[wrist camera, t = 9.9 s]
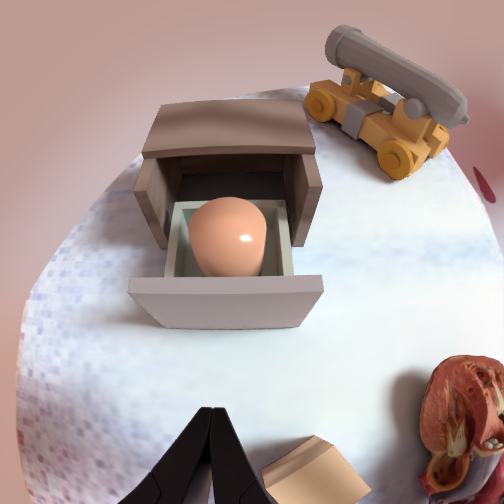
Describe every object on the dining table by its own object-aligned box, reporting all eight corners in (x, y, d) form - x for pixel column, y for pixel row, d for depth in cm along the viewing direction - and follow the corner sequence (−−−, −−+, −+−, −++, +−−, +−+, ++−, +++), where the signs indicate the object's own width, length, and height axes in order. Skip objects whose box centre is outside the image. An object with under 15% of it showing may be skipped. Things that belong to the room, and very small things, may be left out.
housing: (303, 246, 26) (325, 179, 18) (160, 248, 25) (130, 183, 17) (290, 166, 31) (300, 101, 23) (175, 168, 31) (161, 105, 23)
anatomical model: (492, 319, 16) (579, 431, 2) (495, 402, 17) (534, 495, 3) (390, 379, 19) (413, 536, 5) (415, 446, 20) (427, 551, 6)
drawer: (298, 326, 22) (323, 291, 15) (164, 327, 21) (127, 292, 14) (288, 225, 26) (300, 164, 20) (175, 227, 26) (155, 168, 19)
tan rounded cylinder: (263, 295, 22) (268, 261, 17) (199, 296, 22) (184, 262, 17) (260, 240, 25) (264, 196, 19) (202, 241, 24) (192, 198, 19)
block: (296, 507, 14) (308, 532, 9) (261, 469, 16) (265, 489, 11) (347, 474, 15) (371, 489, 11) (314, 435, 17) (333, 445, 13)
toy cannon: (411, 199, 30) (465, 104, 16) (296, 109, 38) (307, 23, 25) (450, 163, 34) (488, 95, 21) (356, 93, 43) (373, 27, 30)
